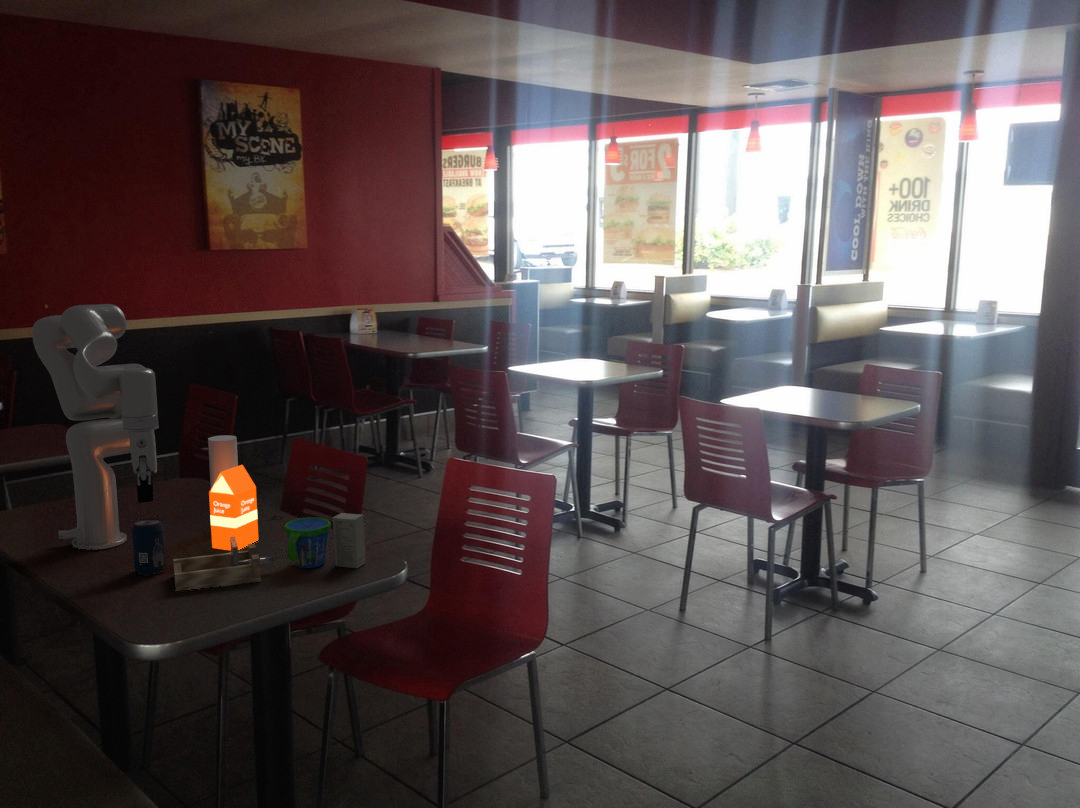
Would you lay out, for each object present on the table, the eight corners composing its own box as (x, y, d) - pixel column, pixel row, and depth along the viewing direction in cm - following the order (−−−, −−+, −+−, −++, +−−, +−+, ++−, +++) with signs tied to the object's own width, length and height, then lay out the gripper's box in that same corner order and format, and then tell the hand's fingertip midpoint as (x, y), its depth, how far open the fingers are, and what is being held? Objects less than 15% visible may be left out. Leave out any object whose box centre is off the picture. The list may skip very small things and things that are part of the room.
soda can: (143, 565, 220) (139, 517, 218) (171, 566, 220) (168, 517, 218) (129, 576, 213) (125, 525, 211) (159, 576, 213) (155, 526, 211)
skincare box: (366, 563, 222) (365, 514, 220) (357, 569, 218) (355, 519, 216) (343, 560, 225) (341, 511, 222) (333, 566, 220) (332, 516, 218)
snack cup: (308, 578, 213) (306, 535, 211) (270, 571, 216) (268, 530, 215) (346, 557, 227) (345, 517, 225) (310, 551, 231) (308, 512, 229)
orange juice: (211, 548, 233) (207, 470, 230) (234, 537, 241) (230, 463, 238) (237, 551, 231) (233, 473, 227) (259, 541, 239) (255, 465, 235)
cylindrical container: (236, 533, 245) (231, 441, 240) (209, 533, 245) (203, 440, 241) (245, 525, 252) (240, 435, 247) (219, 525, 252) (213, 435, 248)
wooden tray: (175, 592, 203) (174, 568, 202) (174, 575, 214) (173, 552, 213) (260, 581, 210) (259, 558, 209) (255, 565, 220) (254, 543, 220)
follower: (234, 577, 209) (233, 547, 208) (231, 565, 217) (230, 536, 216) (275, 571, 213) (274, 542, 211) (271, 560, 220) (270, 532, 219)
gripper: (158, 428, 204) (163, 505, 207) (157, 414, 220) (162, 486, 223) (121, 430, 201) (127, 508, 204) (123, 417, 217) (128, 489, 220)
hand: (145, 496), depth 213 cm, fingers open, 8 cm apart
